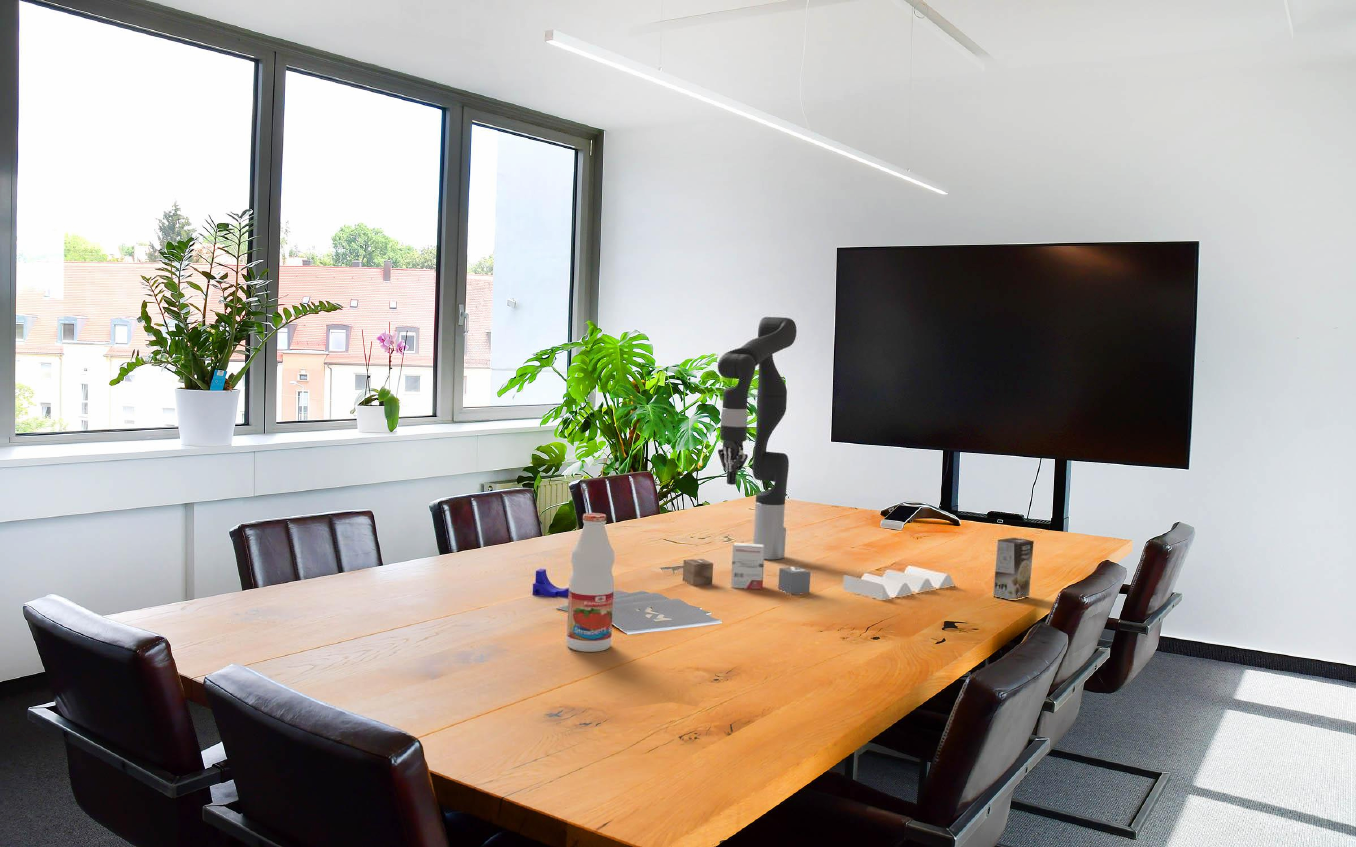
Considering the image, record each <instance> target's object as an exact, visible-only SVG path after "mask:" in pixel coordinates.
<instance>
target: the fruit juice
mask: <svg viewBox="0 0 1356 847" xmlns="http://www.w3.org/2000/svg"><path fill="white" fill-rule="evenodd" d="M582 522H583V528H582V530H581V532H580V535H579V537H578V540H577V542H576V544H575V545H574V546H573V548H572V550H571V554H570V555H571V556H570V562H571V565H572V566H571V567H572V572H571V574H570V577H569V584H568V588H569V598H568V597H567V600H568V601H567V603H568V604H567V620H566V621H567V623H566V626H567V627H566V645H567V647H568V648H570V649H572V650H574V651H577V652H585V653H594V652H595V653H596V652H602V651H605V650H608V649H609V648H610V647H611V644H612V636H613V635H612V632H613V610H614V591H615V580H614V575H613V573H612V572H613V571H612V570H613V566H614V564H615V551H614V549H613V546H612V545H611V543H610V540H609V536H608V533H607V529H606V525H605V524H606V523H607V515H606V514H604V513H599V512H587V513H583V515H582Z"/></svg>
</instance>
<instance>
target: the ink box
mask: <svg viewBox="0 0 1356 847" xmlns="http://www.w3.org/2000/svg"><path fill="white" fill-rule="evenodd" d="M731 561H732V562H731V579H730V580H731V584H730V588H731V589H743V588H744V589H745V590H758V589H760V590H759V591H761V590H763V586H764V566H765V564H764V562H765V559H764V545H762V544H753V543H746V542H745V543H744V542H733V545H732V559H731Z"/></svg>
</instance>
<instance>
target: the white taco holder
mask: <svg viewBox="0 0 1356 847" xmlns="http://www.w3.org/2000/svg"><path fill="white" fill-rule="evenodd" d="M951 585H955V582H954V581H953V578H952V577H951V575H950V574H947V573H943V572H939V571H934V570H931V569H926V568H922V567H917V566H913V565H908V566H907V567H906V569H905V570H904V572H901V571H898V570H893V569H890V568H889V569H886V570H885V572H883V575H882V576H880V575H875V574H871V573H867V572H866V573H864V574H863V575H862V576H861V578H859V577H855V576H852V575H846V574H844V575H843V584H842V591H843V590H845V591H844V592H846V591H850V592H852V593H851V594H853V593H857V594H862V595H866V596H869V597H873V598H877V599H881V600H883V599H889V598H891V597H900V596H903V595H908V594H913V593H912V591H915V592H916V593H918V592H920V591H926V590H931V589H934V587H936V588H943V587H945V586H951ZM933 586H934V587H933ZM857 594H856V595H857ZM900 598H901V597H900Z"/></svg>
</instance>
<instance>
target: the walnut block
mask: <svg viewBox="0 0 1356 847" xmlns="http://www.w3.org/2000/svg"><path fill="white" fill-rule="evenodd" d="M682 564H683V566H682V567H683V568H682V582H684V581H685V582H684V583H686V582H687V583H686V584H688V585H691V586H692V587H697V586H698V585H700V586H710V585H711V586H712V585H713V579H714V578H713V573H714V563H713V562H712V561H708V560H706V559H704V558H692V559H690V558H689V559H683V563H682Z"/></svg>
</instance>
